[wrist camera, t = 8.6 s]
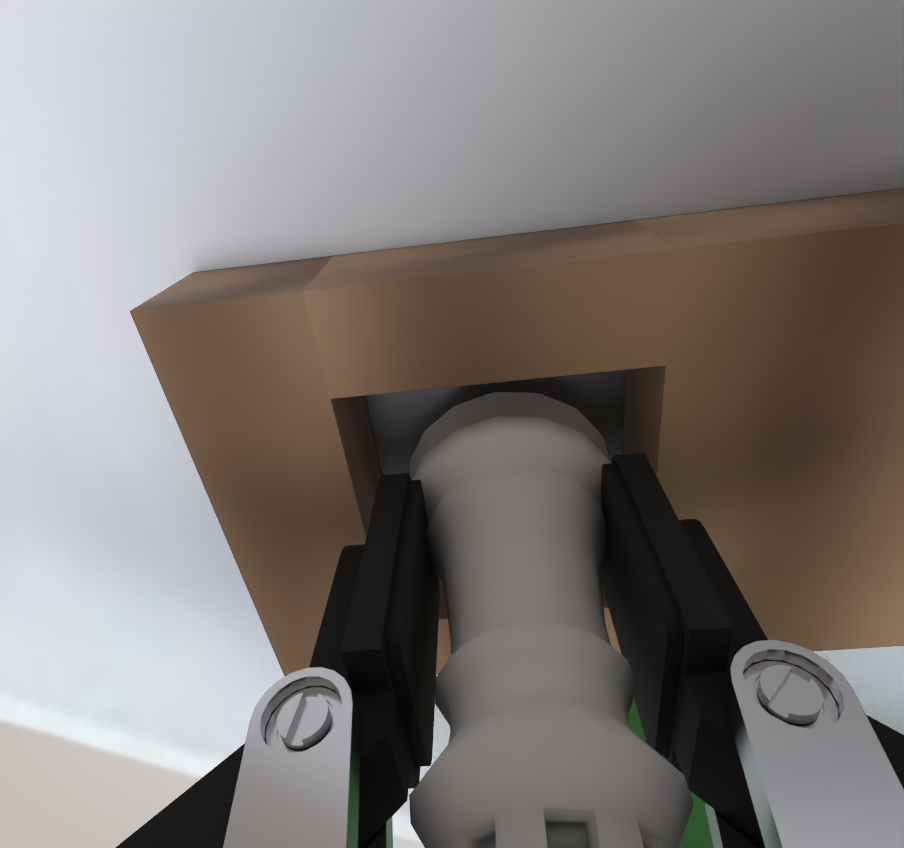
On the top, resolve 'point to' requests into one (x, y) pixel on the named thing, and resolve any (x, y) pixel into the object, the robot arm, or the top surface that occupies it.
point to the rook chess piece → (531, 643)
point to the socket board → (569, 353)
